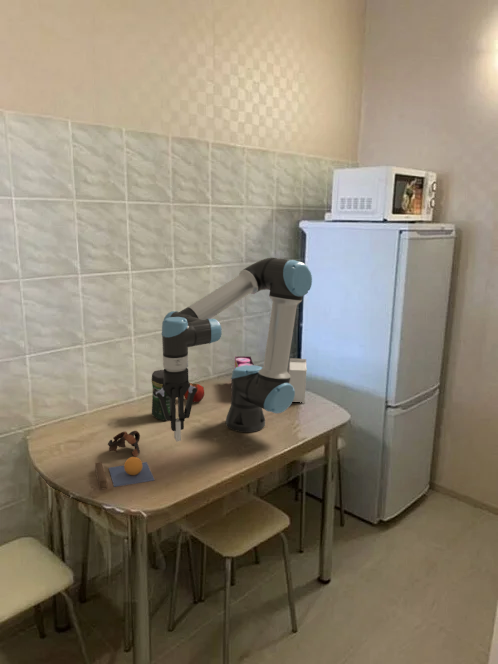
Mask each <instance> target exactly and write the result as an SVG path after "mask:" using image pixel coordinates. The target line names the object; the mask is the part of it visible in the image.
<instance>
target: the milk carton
mask: <svg viewBox="0 0 498 664" xmlns="http://www.w3.org/2000/svg"><path fill="white" fill-rule="evenodd" d="M307 368H308V367H307V358H290V357H289V361H288V373H289V375H290V383H289V384H291V385H292V386H293V388H294V390H295V396H294V400H293V402H300V403H299V404H304V403H305V401H306V400H305V399H306V386H307ZM301 402H302V403H301ZM303 402H304V403H303Z"/></svg>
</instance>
